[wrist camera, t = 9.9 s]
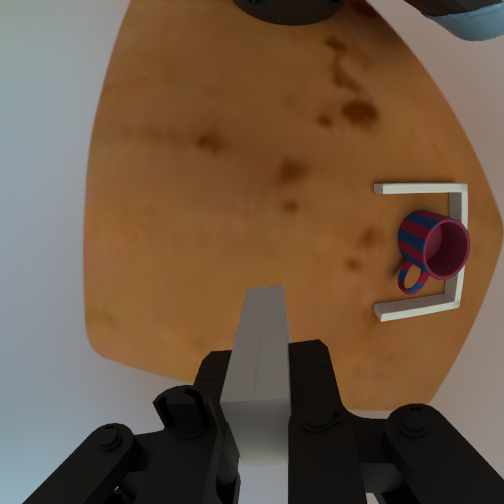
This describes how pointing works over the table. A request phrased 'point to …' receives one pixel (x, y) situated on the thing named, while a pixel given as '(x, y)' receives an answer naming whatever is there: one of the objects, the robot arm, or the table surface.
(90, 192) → the table surface
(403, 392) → the table surface
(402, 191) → the white u-shaped frame
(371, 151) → the table surface
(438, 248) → the mug
